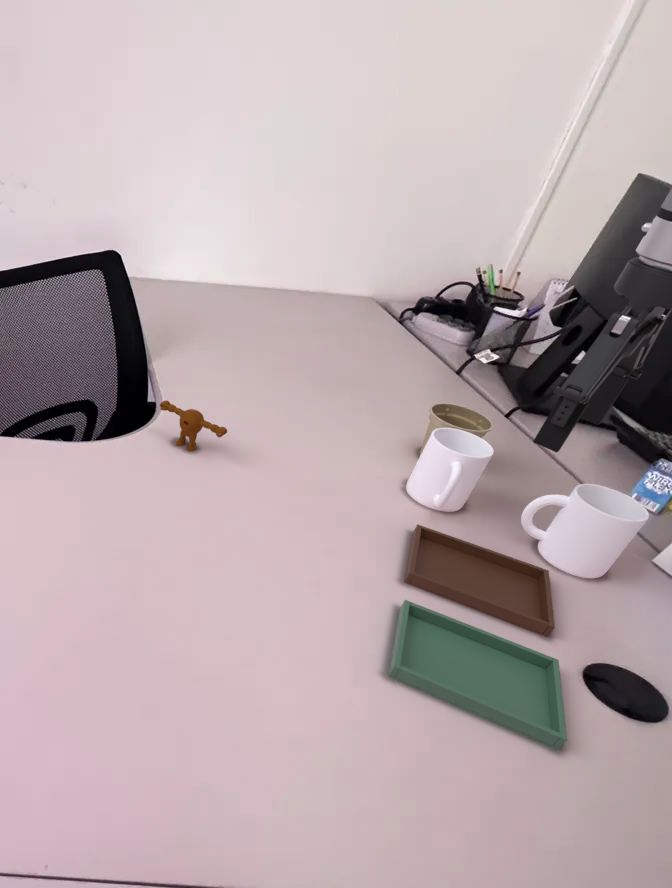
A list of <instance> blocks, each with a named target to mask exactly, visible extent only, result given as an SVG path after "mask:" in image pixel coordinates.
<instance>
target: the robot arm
mask: <svg viewBox="0 0 672 888" xmlns="http://www.w3.org/2000/svg"><path fill="white" fill-rule="evenodd" d="M641 231H642V232H644V233H646V234H645V235H644V236H643V237H642V239H641V240H640V242H639V244H638V245H637V247H636V249H635V253H636V254H637V255H638V256H635V257H632V258H631V259H629V260H628V261H627V263H626V265H625V266H624V268H623V269H622V271H621V273H620V275H619V276H618V278H617V280H616V281H615V283H614V285H613V289H614V291H615V293H616V294H618V295H619V296H621V297H624V298H627V299H628V301H629V302H628V304H627V305H626V306H625V308H624V309H623V310H622V311H614V312H613V313H612V314H611V315H610V316H609V318H608V321H607V322H606V324H605V325H604V327H603V329H602V330H601V332H600V333H599V334H598V336H597V337H596V339H595V340H594V341H593V343H592V344H591V345H590V346H589V348H588V350H587V351H586V352H585V354H584V355H583V356H582V357H581V359H580V360H579V362H578V363H577V364H576V366H575V367H574V369H573V370H572V372H571V373H570V374H569V375H568V377H567V378H566V380H565V381H564V383H563V384H562V385H561V386H558V385H557V386H556V387H554V390H553V394H556V395H558V396H559V397H558V399H557V401H556V402H555V404H554V406H553V407H552V409H551V411H550V412H549V414H548V416H547V417H546V419H545V420H544V422H543V424H542V425H541V427H540V429H539V430H538V432H537V434H536V435H535V437H534V439H533V440H532V443H533V444H537V445H538V446H541V447H543V448H545V449H547V450H550V451H552V452H555V453H559V452H560V451H561V449H562V447H563V445H564V444H565V442H566V441H567V439H568V438H569V436H570V434H571V433H572V431H573V430H574V429H575V426H576V425H577V423H578V422H579V420H580V419H581V420H584V421H587V422H589V423H591V424H594V425H595V426H599V425H601V423H602V422H603V421H604V419H605V417H606V415H607V414H608V413H609V411H610V409H612V406H613V405H614V404H615V402H616V400H617V399H618V397H619V396H620V394H621V392H622V391H623V390H624V388H625V386H626V385H627V383H629V381H630V378H631V379H634V380H638V379H639V378H640V377H641V375H642V374H643V371H642V370H640V368H642V367H643V365H644V362H645V360H646V358H647V356H648V354H649V353H650V351H651V348H652V347H653V346H654V343H655V342H656V339H657V338H658V335H660V332H661V330H662V328H663V327H664V325H665V323H666V321H667V319H668V317H669V316H670V314H671V313H672V187H671V188H670V190H669V191H668V194H667V195H666V197H665V199H664V201H663V203H662V204H661V206H660V208H659V210H658V211H657V213H656V216H655V217H654V218H653V220H652V222H646V223H644V224H643V225H642V226H641ZM575 387H576V388H575ZM580 389H581V390H580Z"/></svg>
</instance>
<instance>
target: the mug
mask: <svg viewBox="0 0 672 888" xmlns="http://www.w3.org/2000/svg"><path fill="white" fill-rule="evenodd" d="M546 506H557V507H558V506H559V507H560V509H559V510H558V512H557V514H555V517H554V518H553V519H552V521H551V523H550V524H549V525H548V526H547V528H546V530H543V529H540V528H538V527H537V526H535V525H534V523H533V518H534V516H535V514H536V513H537V512H538V511H539V510H540V509H542V508H544V507H546ZM649 513H650V512H649V511H648V510H647V509H646V507H645V506H644V505H643V504H642V503H640V502H639V501H638V500H636V499H634V498H633V497H631V496H629V495H627V494H625V493H624V492H621V491H619V490H616V489H613V488H611V487H609V486H604V485H601V484H594V483H580V484H578V485H576V486H575V487H574V488H573V490H572V491H571V493H570V494H569V495H565V494H554V493H552V494H546V495H545V494H544V495H542V496H539V497H537V498H535V499H533V500H532V501H531V502H529V503H528V504H527V505H526V507H525V508H524V509H523V511H522V513H521V517H520V523H521V526H522V529H523V530H524V531H525V533H527V534H528V536H530V537H532V538H534V539H536V540H538V543H537V550H538V552H539V554H540V556H541V557H542V558H543V559H544V560H545V561H546V562H547V563H549V564H550V565H552V566H553V567H555V568H556V569H558V570H560V571H561V572H564V573H567V574H568V575H572V576H574V577H578V578H583V579H598V578H601V577H603V576H604V575H605V574H606V573H607V571H609V569H610V568H611V567H612V566H613V564H614V563H615V562H616V561H617V560H618V558H620V556H621V554H622V553H623V552H624V550H625V549H626V548H627V547H628V545H629V544H630V543H631V541H632V540H633V538H635V536H636V535H637V534H638V533H639V531H640V530H641V528H642V527H643V526H644V525H645V523H646V522H647V521H648V520H649V518H650V514H649Z"/></svg>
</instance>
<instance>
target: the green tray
mask: <svg viewBox="0 0 672 888" xmlns="http://www.w3.org/2000/svg"><path fill="white" fill-rule="evenodd" d="M401 604H402V605H401V606H400V608H399V609H398V610H399V611H398V616H397V621H396V628H395V633H394V638H393V639H394V640H393V646H392V651H391V657H390V663H389V669H388V674H387V676H388V678H391V679H393V680H395V681H398V682H400V683H402V684H404V685H406V686H409V687H412V688H414V689H416V690H419V691H420V692H423V693H425V694H427V695H430V696H432V697H435V698H437V699H439V700H441V701H444V702H445V703H448V704H450V705H453V706H455V707H457V708H459V709H462V710H464V711H467V712H469V713H471V714H474V715H475V716H478V717H480V718H482V719H485V720H487V721H490V722H492V723H494V724H497V725H498V726H501V727H503V728H505V729H508V730H510V731H513V732H514V733H517V734H520V735H521V736H524V737H526V738H529V739H531V740H533V741H535V742H537V743H540V744H542V745H544V746H547V747H548V748H552V749H553V750H556V751H559V750H560V749H561V748H562V747H563V745H564V744H565V743H566V742H567V741H568V735H567V726H566V719H565V718H566V715H565V707H564V699H563V697H564V696H563V688H562V679H561V671H560V670H561V669H560V662H559V661H560V660H559V659H557V658H555V657H552V656H550V655H547V654H545V653H542V652H539V651H538V650H534V649H532V648H529V647H526V646H524V645H522V644H519V643H517V642H514V641H512V640H509V639H507V638H504V637H501V636H499V635H496V634H494V633H491V632H489V631H487V630H483V629H481V628H478V627H477V626H473V625H471V624H469V623H466V622H463V621H460V620H458V619H456V618H453V617H450V616H448V615H446V614H443V613H440V612H438V611H435V610H433V609H430V608H428V607H425V606H423V605H420V604H418V603H415V602H412V601H409V600H407V599H404V601H403V603H401Z"/></svg>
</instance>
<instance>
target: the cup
mask: <svg viewBox="0 0 672 888" xmlns="http://www.w3.org/2000/svg"><path fill="white" fill-rule="evenodd" d="M494 453H495V451H494V448H493V446H491V444H490V443H489V442H487V441H486V440H485V439H483V437H482V438H480V437H478V436H476V435H474V434H471V433H469V432H466V431H462V430H459V429H454V428H438V429H435V430H434V431H433V432H432V434H431V436H430V438H429V440H428V442H427V444H426V446H425V448H424V450H423V452H422V454H421V456H420V455H419V458H418V460H417V461H416V464H415V465H414V468H413V469H412V472H411V474H410V475H409V478H408V479H407V482H406V485H405V488H406V489H405V490H406V492H407V494H408V495H409V496H410V498H412V499H413V500H414V501H416V502H417V503H418V504H420V505H423V506H424V507H426V508H429V509H432V510H435V511H439V512H446V513H452V512H457V511H459V510H461V509H462V508H463V507H464V505H465V504H466V502H467V500H468V499H469V497H470V495H472V492H473V490H474V488H475V487H476V485H477V483H478V482H479V479H480V478H481V476H482V474H483V473H484V471H485V469H486V468H487V466H488V465H489V463H490V460H491V459H492V458H493V455H494Z"/></svg>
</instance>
